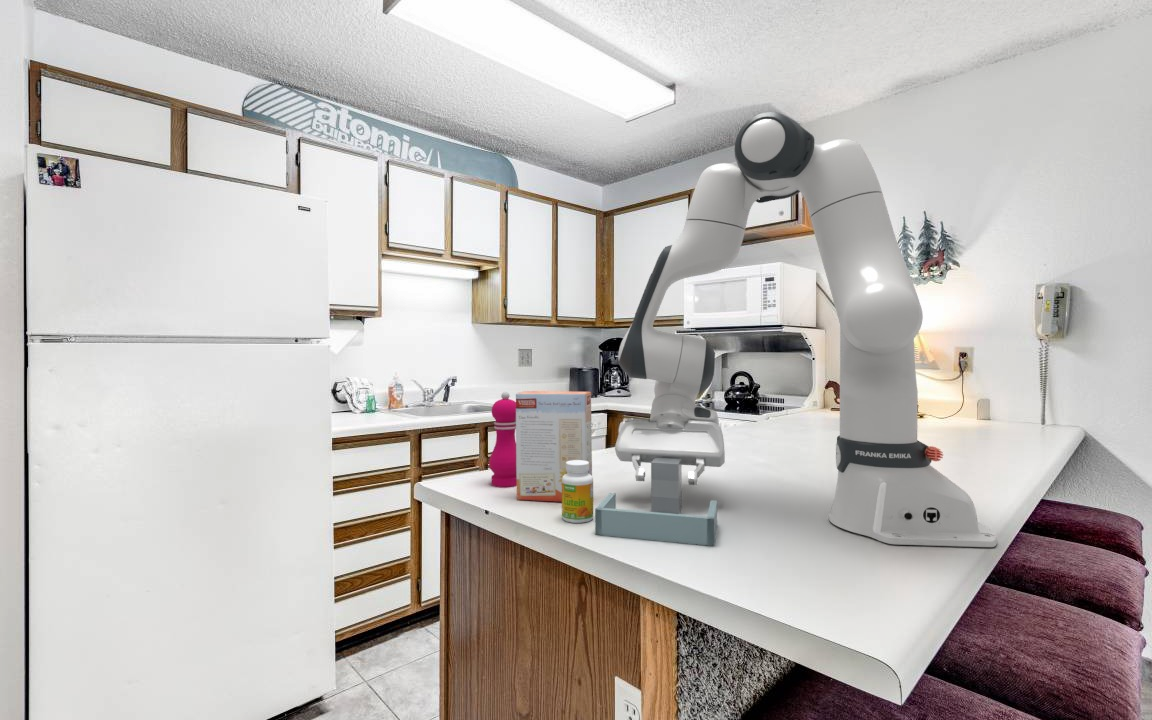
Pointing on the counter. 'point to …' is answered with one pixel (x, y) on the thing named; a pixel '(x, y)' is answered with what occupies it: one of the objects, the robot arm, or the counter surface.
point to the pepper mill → (504, 443)
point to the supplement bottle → (577, 492)
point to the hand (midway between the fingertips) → (665, 481)
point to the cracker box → (550, 440)
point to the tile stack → (666, 485)
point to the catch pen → (655, 524)
